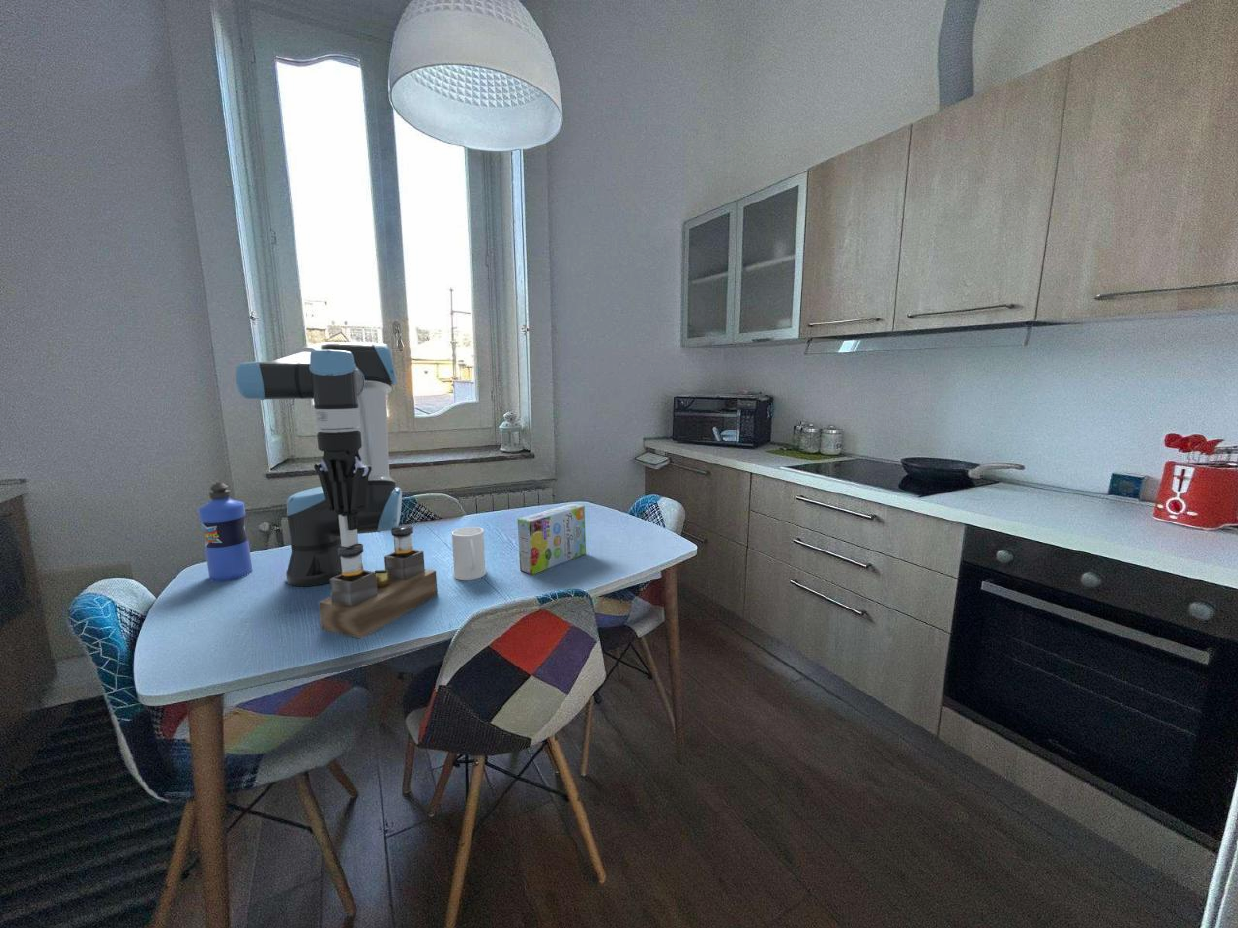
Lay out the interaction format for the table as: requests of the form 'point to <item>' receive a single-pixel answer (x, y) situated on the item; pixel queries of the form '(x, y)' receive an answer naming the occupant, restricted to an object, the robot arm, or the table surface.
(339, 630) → the mount
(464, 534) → the mug
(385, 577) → the screw
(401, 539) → the knob far
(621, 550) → the table surface
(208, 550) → the water bottle
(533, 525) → the snack box
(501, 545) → the table surface
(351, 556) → the knob near
